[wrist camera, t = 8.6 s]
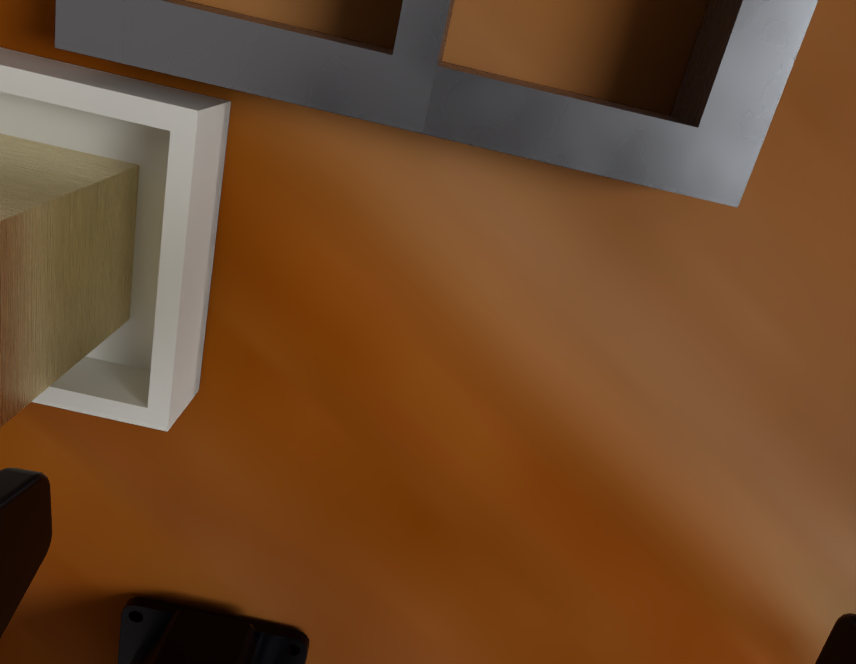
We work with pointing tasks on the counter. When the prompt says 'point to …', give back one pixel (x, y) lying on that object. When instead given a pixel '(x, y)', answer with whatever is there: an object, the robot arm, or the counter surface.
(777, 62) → the grey rectangular frame
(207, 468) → the counter surface
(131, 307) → the parts tray
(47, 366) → the block
